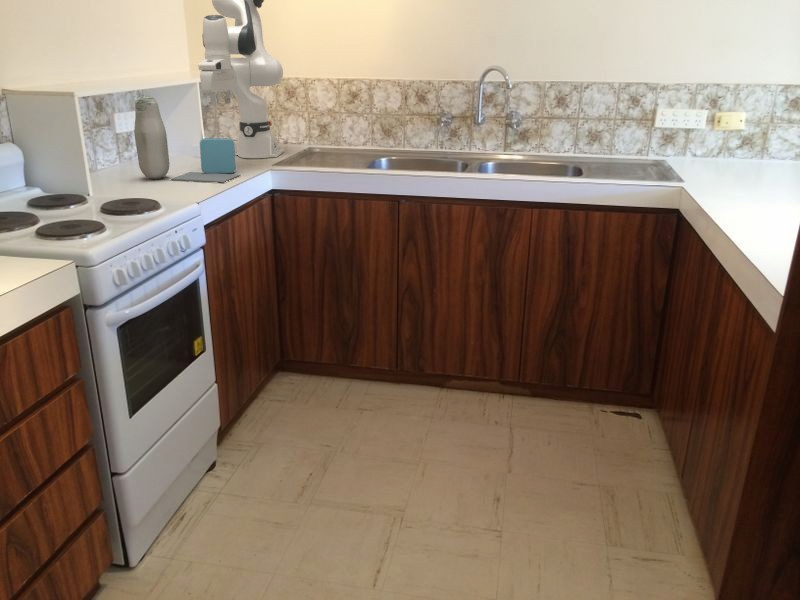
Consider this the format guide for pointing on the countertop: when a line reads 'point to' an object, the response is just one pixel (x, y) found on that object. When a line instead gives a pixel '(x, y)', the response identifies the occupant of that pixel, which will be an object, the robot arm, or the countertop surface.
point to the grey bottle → (150, 138)
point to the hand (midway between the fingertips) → (221, 104)
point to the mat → (205, 177)
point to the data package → (217, 155)
